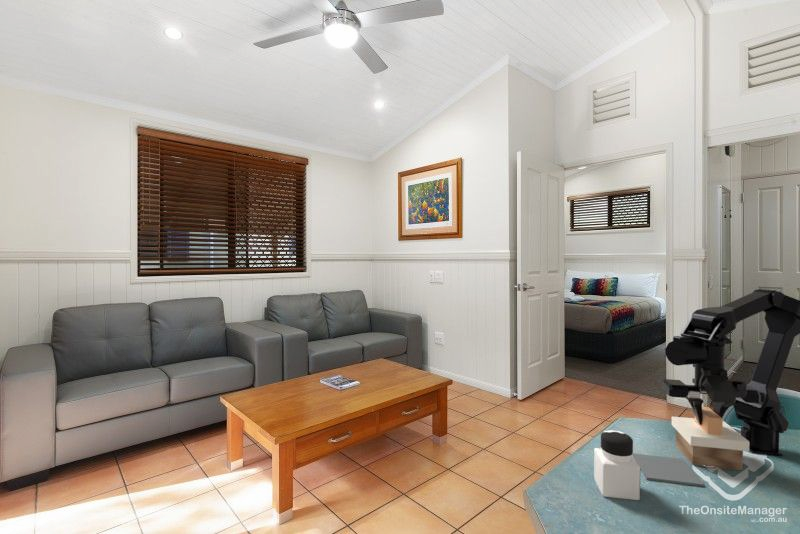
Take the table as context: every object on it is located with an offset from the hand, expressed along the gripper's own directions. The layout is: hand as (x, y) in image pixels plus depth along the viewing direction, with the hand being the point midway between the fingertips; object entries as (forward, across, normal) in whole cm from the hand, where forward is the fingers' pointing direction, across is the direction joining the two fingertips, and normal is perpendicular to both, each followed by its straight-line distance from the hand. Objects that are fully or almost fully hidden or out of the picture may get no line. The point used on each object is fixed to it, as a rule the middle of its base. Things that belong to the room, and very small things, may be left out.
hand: (707, 425), depth 99 cm
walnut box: (+8, 0, 0) cm, 8 cm away
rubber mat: (+8, -12, -9) cm, 17 cm away
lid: (+2, 0, 0) cm, 2 cm away
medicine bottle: (+8, -25, -20) cm, 33 cm away
